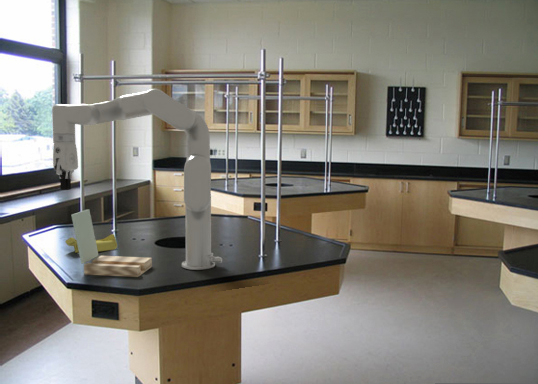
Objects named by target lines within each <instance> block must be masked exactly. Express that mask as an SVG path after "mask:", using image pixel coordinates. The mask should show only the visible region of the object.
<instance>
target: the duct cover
mask: <svg viewBox="0 0 538 384" xmlns="http://www.w3.org/2000/svg"><path fill="white" fill-rule="evenodd" d="M90 211H91V210H90V208H89V209H84V210H81V211H79V212H76V213H72V214H71V220H72V226H73V229H74V235H75V240H77V245H78V250H79V252H78V254H79V259H80V263H81V265H82V264H83V265H85V264H86V263H89V262H90V261H92V260H94V259H96V258H98V257H99V256H100V255H99V252H98V250H97V245H96V240H97V239H96V236H95V230H94V226H93V221H92V215H91V212H90Z"/></svg>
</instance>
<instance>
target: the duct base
mask: <svg viewBox="0 0 538 384" xmlns="http://www.w3.org/2000/svg"><path fill="white" fill-rule="evenodd" d="M152 259H153V258H152V257H143V256H121V255H120V256H119V255H117V256H116V255H99V256H97V257H95V258H93V259H91V263H90V262H86V263H84V264H83V274H84V275H85V276H87V275H88V276H90V275H91V276H111V277H132V278H138V277H140V276H142V275H143V274H144V273H146V272H147V271H148V270H149V269H151V268H152V267H153V263H152V262H153V260H152Z"/></svg>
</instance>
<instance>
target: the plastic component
mask: <svg viewBox="0 0 538 384" xmlns="http://www.w3.org/2000/svg"><path fill="white" fill-rule="evenodd" d="M95 240H96V245H97V250H98V253H99V252H108V251H113V250H116V249H117V248H118V242H117V239H116V236H115V234H113V233H112V234H109V235H108V236H106V237H104V238H100V239H95ZM65 244H66V245H67V246H68V247H73V248H74V253H77V254H79V250H78V245H77V240H76V238H74V237H69V238H68V239H66V240H65Z"/></svg>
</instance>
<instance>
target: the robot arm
mask: <svg viewBox="0 0 538 384" xmlns="http://www.w3.org/2000/svg"><path fill="white" fill-rule="evenodd" d="M51 112H52V113H51V114H52V138H53V139H52V140H53V142H52V143H53V152H52V163H53V165H52V167H53V170H54V171H56V173H55V174H56V175H58V176H59V179H60V180H59V181H60V183H59V184H60V190H61V191H62V190H63V191H68V190H71V189H72V182H71V181H72V174H73V173H74V172H75V170H76V171H77V170H78V168H79V159H78V148H77V144H76V143H77V142H76V125H78V126H95V125H99V124H100V125H101V124H104V123H109V122H116V121H124V120H125V121H126V120H130V119H135V118H141V117H148V116H151V115H152V116H153V115H154V116H155V117H157V118H158V119H160V120H162V121H163V122H166V123H167V124H169V125H170V126H172V127H173V128H175V130H178V131H184V133H185V136H186V161H185V163H184V168H183V202H184V205H185V212H184V213H185V217H184V218H185V260H184V261H182V262H181V267H182V268H183V269H186V270H194V271H195V270H196V271H200V270H209V269H212V268H214V267H215V266H216V263H218V264H221V263H223V258H222V257H220V256H215V255H214V252H212V193H211V191H212V165H211V150H210V149H211V146H210V145H211V143H210V142H211V141H210V139H211V138H210V130H209V127H208V124H207V122H206V120H205V119H204V118H203V116H201V115H200V113H198V112H197V111H195V110H193V109H191V108H189V107H188V106H186V105H184V104H183V103H181V102H180V101H178V100H177V99H174V98H173V97H171V96H170V95H168V94H167V93H165V92H164V91H163V90H161V89H159V88H151V89H149V90H147V91H141V92H137V93H132V94H131V93H129V94H124V95H121V96H118V97H116V98H115V99H112V100H109V101H108V100H107V101H103V102H99V103H98V102H97V103H93V104H86V103H80V104H79V103H78V104H67V103H65V104H62V103H59V104H58V103H57V104H54V105H53V106H52V110H51Z"/></svg>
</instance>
